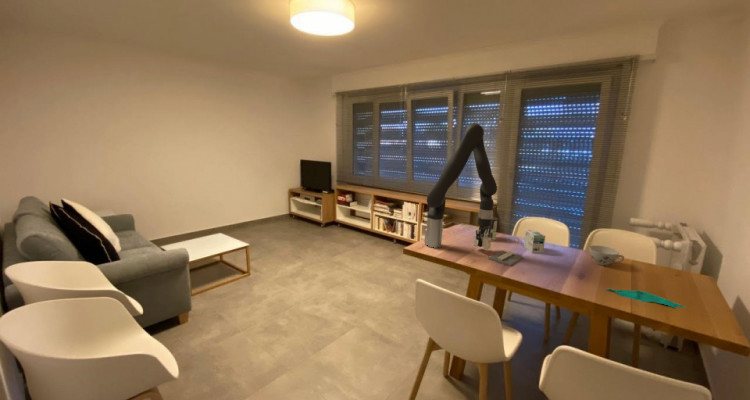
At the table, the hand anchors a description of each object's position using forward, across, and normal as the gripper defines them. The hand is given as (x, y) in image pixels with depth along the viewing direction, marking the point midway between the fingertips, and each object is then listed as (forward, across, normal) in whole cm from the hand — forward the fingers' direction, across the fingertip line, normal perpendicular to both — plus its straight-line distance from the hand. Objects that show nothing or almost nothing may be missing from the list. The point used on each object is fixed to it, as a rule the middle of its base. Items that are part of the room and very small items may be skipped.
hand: (482, 245), depth 179 cm
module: (+1, 0, 0) cm, 1 cm away
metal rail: (+3, 0, +15) cm, 15 cm away
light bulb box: (+3, -26, +19) cm, 32 cm away
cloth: (+3, -3, +72) cm, 72 cm away
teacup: (+3, -33, +52) cm, 62 cm away
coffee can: (+4, -24, -9) cm, 26 cm away
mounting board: (+3, 0, +15) cm, 15 cm away
